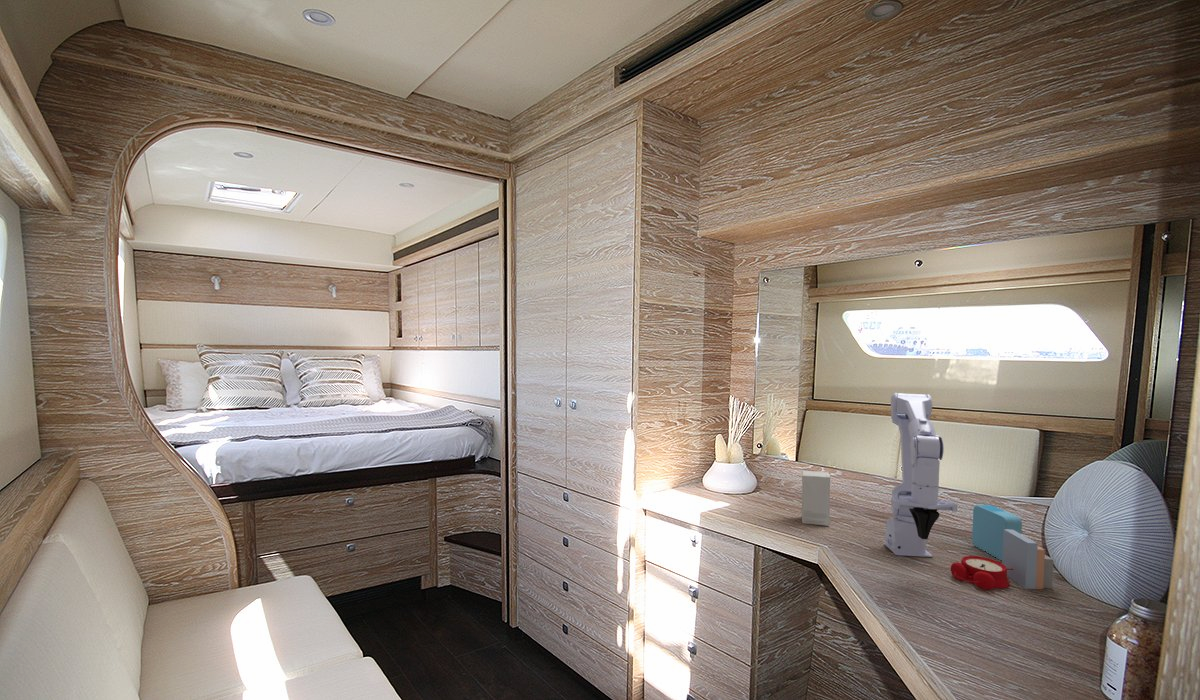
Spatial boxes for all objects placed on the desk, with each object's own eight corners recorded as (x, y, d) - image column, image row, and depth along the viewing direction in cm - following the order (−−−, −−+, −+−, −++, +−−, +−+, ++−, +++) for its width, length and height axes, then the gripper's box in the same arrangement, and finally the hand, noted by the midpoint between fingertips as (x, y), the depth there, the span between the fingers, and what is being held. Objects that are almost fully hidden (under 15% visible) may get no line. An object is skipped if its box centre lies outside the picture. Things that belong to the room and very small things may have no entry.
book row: (1025, 588, 130) (1027, 542, 129) (1001, 571, 139) (1003, 529, 138) (1055, 590, 129) (1057, 544, 129) (1029, 573, 138) (1031, 530, 138)
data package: (1020, 562, 145) (1022, 518, 144) (1004, 562, 144) (1006, 518, 144) (986, 544, 157) (988, 503, 156) (971, 544, 156) (973, 503, 156)
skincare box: (828, 520, 175) (830, 472, 174) (829, 527, 168) (831, 477, 168) (800, 516, 177) (802, 469, 177) (800, 523, 171) (802, 474, 170)
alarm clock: (1021, 568, 133) (990, 566, 126) (1017, 594, 132) (985, 594, 125) (974, 552, 142) (943, 550, 135) (970, 576, 141) (939, 575, 134)
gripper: (901, 487, 132) (899, 542, 133) (965, 490, 131) (962, 545, 131) (889, 479, 139) (887, 531, 140) (949, 481, 138) (947, 534, 138)
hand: (922, 537), depth 136 cm, fingers closed
